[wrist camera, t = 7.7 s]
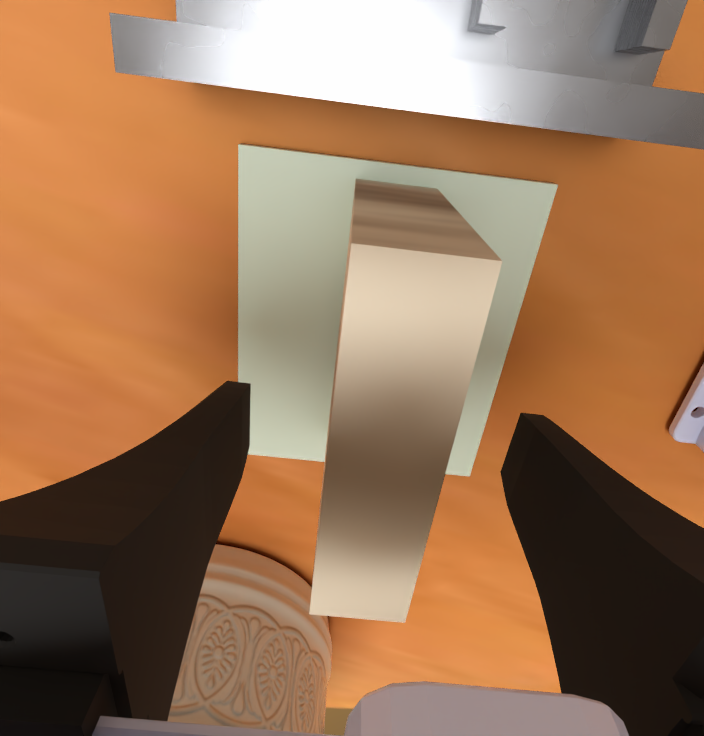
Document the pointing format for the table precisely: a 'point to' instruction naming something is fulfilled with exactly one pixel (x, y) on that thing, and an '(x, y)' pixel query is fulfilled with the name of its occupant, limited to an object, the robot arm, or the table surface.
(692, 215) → the table surface
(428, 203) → the wooden block
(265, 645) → the jar
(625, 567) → the robot arm
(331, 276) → the mat
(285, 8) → the rack
